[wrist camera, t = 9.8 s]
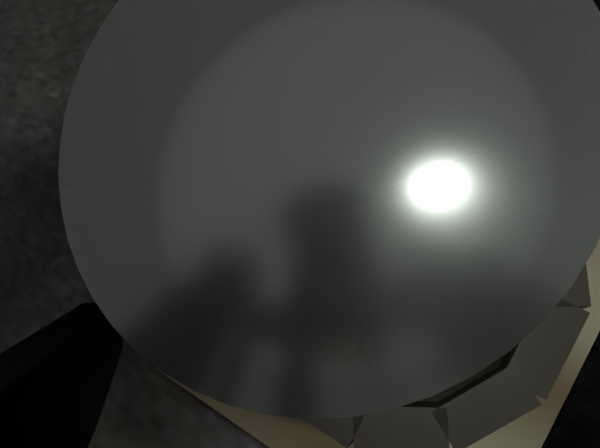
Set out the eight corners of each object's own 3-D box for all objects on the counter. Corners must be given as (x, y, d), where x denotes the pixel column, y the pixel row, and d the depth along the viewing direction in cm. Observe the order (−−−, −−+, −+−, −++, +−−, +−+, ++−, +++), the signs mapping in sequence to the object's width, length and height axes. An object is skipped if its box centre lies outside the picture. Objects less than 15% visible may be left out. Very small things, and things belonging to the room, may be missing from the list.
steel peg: (437, 409, 17) (435, 561, 5) (277, 313, 19) (-31, 238, 6) (526, 240, 17) (739, -37, 5) (360, 163, 19) (223, -173, 7)
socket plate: (469, 574, 16) (475, 620, 14) (167, 366, 20) (123, 369, 17) (668, 176, 18) (712, 142, 15) (347, 50, 21) (333, 4, 19)
